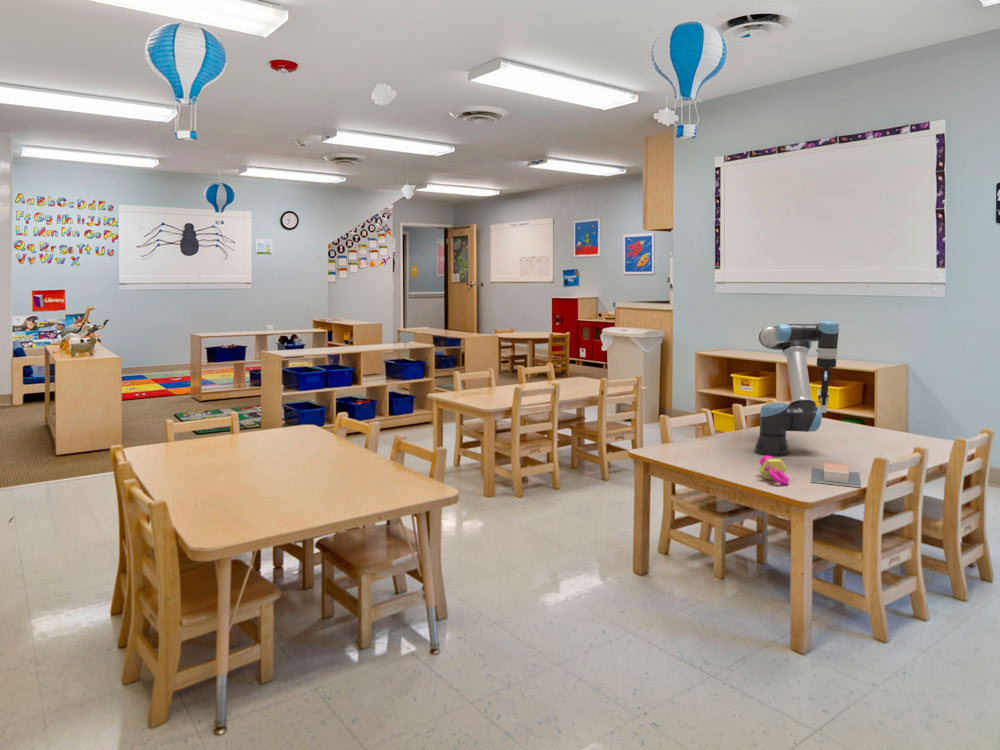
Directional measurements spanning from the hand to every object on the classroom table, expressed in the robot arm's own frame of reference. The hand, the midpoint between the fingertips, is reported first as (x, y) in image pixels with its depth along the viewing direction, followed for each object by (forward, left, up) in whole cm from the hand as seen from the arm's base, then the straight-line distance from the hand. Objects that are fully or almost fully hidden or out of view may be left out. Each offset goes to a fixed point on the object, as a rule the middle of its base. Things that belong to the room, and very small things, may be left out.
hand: (822, 412), depth 300 cm
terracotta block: (+10, +6, -22) cm, 25 cm away
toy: (+29, -17, -25) cm, 42 cm away
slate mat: (+16, +6, -25) cm, 30 cm away
